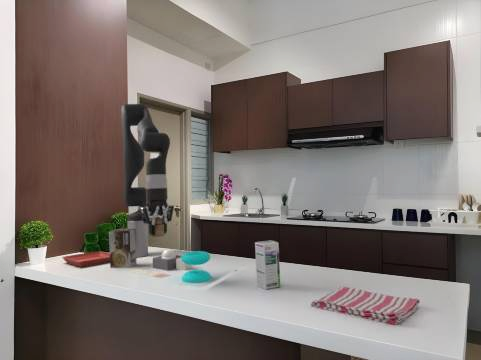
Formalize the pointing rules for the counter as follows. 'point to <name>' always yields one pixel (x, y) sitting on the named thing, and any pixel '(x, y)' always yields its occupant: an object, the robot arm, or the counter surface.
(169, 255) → the dome
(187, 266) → the die
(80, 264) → the plant saucer
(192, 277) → the donuts
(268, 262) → the syrup box
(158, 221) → the pawn
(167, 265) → the board
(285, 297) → the counter surface
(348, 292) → the dish towel
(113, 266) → the coffee box
